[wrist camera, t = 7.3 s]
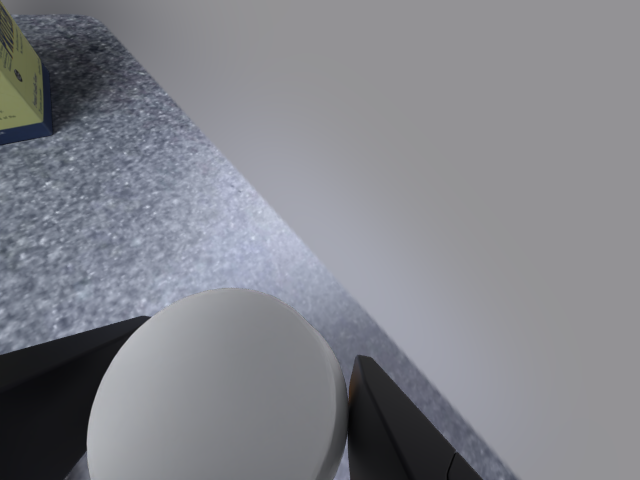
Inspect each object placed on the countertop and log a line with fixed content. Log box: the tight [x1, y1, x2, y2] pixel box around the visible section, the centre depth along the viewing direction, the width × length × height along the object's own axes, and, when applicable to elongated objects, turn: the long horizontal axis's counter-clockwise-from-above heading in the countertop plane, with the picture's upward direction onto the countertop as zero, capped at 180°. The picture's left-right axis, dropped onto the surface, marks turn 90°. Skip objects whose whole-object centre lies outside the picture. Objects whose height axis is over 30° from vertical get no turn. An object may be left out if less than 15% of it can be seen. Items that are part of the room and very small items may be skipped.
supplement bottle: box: [87, 288, 349, 480], centre depth 9 cm, size 5×5×10 cm
